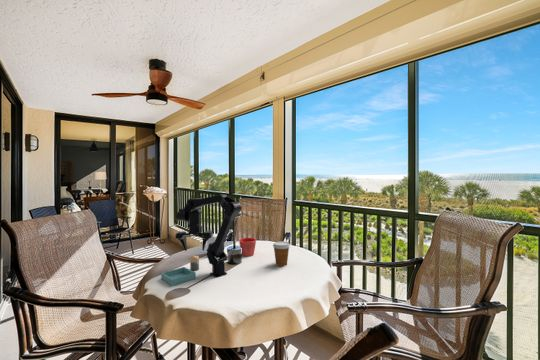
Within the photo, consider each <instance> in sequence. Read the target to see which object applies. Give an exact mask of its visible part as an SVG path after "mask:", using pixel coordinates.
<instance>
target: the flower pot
mask: <svg viewBox="0 0 540 360" xmlns="http://www.w3.org/2000/svg"><path fill="white" fill-rule="evenodd" d="M238 243H239V248H240V247H241V248H242V254H241V256H242V255H243V256H242V257H251V256H254V254H255V251H256V250H255V249H256V244H257V239H256V238H253V237H244V238H240V239H239V240H238Z"/></svg>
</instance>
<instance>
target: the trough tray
mask: <svg viewBox="0 0 540 360" xmlns="http://www.w3.org/2000/svg"><path fill="white" fill-rule="evenodd" d="M160 276H161V277H160V279H161V280H162V282H164V283H166V284H168V285H169V286H171V287H174V286H178V285H181V284H184V283H188V282H190V281H193V280H196V279H197V277H196V276H197V274H196V271H191V270H190V269H189V268H187V267H185V266H183V267H179V268H176V269H172V270H167V271H164V272H161V273H160Z"/></svg>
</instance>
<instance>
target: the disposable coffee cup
mask: <svg viewBox="0 0 540 360" xmlns="http://www.w3.org/2000/svg"><path fill="white" fill-rule="evenodd" d="M272 246H273V250H274V251H273V252H274V261H275V265H276V266H277V265H279V266H278V267H285V266H284V265H286V266H287V265H288V260H289V258H288V257H289V251H290V243H289V242H287V241H281V240H280V241H275V242H273V245H272Z"/></svg>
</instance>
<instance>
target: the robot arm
mask: <svg viewBox="0 0 540 360" xmlns="http://www.w3.org/2000/svg"><path fill="white" fill-rule="evenodd" d="M217 203H219V205H220V207H221V208H222V209H223V216H224V218H223V220H222V223H221V225H220V228H219V230H218V232H217V234H218V235H217V237H216V240H215V242H213V243H210V244H209V246H208V249H207V248H206V246H207V240H208V239H209V238H211V237H212V236H213V234H214V233H213V230H205V231H204V232H203V226H202V225H201V214H204V212H203V211H202V210H201V208H203V207H205V206H207V205H212V204H217ZM242 209H243V206H242V204H241V203H240V202H239V201H236V200H235V199H233V198H232V197H230V196H228V195H227V194H225V193H219V194H217V195H212V196H208V197H204V198H203V197H200V198H198V197H197V198H196V197H195V198H189V199H187V201H186V203H185V205H184V207H183V208H179V209H178V211H177V212H176V216H175V218H176V220H177V221H180V222H188V232H186V231H184V230H183V231H177V232H176V233H175V235H174V236H175V240H176V239H177V240H178V241H179V242H180V243H181V245H182V247H183V249H184V250H185V251H184V252H187V250H188V247H187V237H189V238H190V237H203V238H202V245H201V247H202V251H205V248H206V256H207V260H208V263H209V265H211V266H212V268H211V269H212V270H211V271H212V272H210V273H209V274H210V275H211V276H213V277H215V278H218V277H221V276H225V275H228V271H227V272H226V271H225V268H226V267H225V265H226V264H225V261H227V260H228V257H229V256H228V255H227V253H226V252H225V241H226V240H227V237H228V235H229V232H230V230H231V227H232V224H233V222H234V221H235V219H236V218H237V217H238V216H239V214H240V213H241V211H242Z"/></svg>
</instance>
